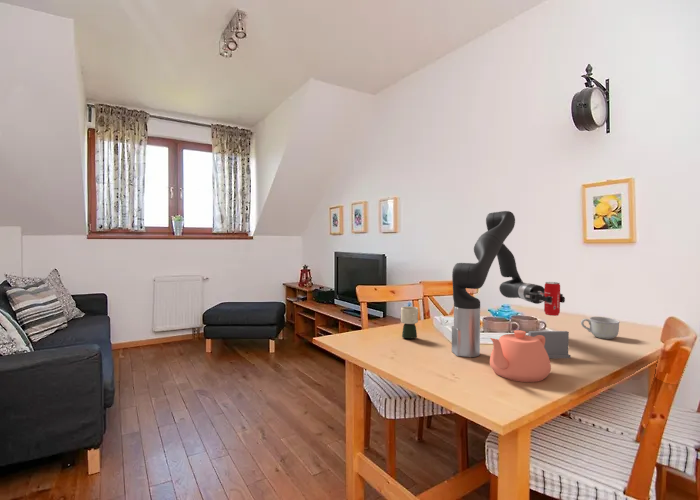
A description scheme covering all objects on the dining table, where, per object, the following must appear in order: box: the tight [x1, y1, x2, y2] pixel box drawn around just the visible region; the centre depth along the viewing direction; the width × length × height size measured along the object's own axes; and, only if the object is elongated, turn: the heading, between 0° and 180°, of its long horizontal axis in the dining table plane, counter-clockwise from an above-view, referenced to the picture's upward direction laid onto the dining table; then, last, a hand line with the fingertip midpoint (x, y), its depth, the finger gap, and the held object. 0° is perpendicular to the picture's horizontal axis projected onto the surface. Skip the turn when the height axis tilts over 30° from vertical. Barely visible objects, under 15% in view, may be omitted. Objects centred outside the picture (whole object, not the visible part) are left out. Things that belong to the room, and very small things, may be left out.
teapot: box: [489, 329, 552, 383], centre depth 117 cm, size 25×17×13 cm
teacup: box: [580, 316, 621, 340], centre depth 163 cm, size 14×11×8 cm
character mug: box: [400, 306, 419, 340], centre depth 160 cm, size 11×7×13 cm, turn 14°
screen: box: [527, 330, 571, 359], centre depth 135 cm, size 14×4×9 cm, turn 94°
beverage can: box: [543, 281, 561, 317], centre depth 142 cm, size 5×5×12 cm
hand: (557, 299), depth 139 cm, fingers closed on beverage can, 4 cm apart
